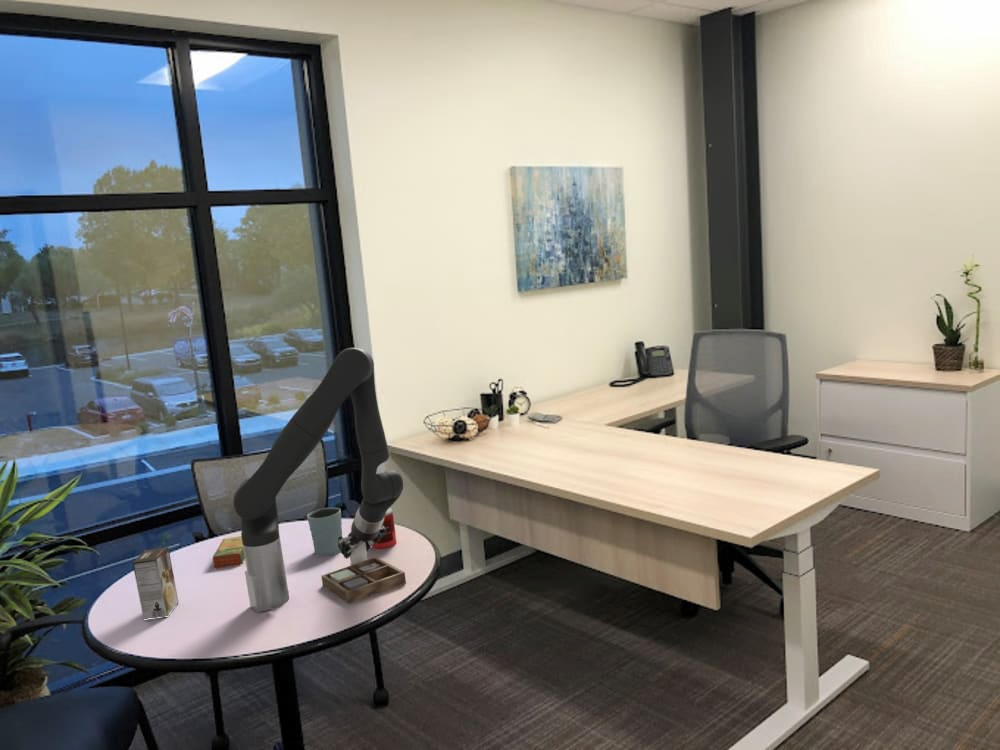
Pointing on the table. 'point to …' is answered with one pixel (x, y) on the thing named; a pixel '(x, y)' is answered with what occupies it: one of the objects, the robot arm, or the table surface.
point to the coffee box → (155, 583)
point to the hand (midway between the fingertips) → (355, 552)
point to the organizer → (376, 579)
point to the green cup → (325, 530)
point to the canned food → (387, 532)
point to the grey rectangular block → (369, 567)
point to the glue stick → (358, 554)
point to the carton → (229, 553)
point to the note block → (342, 575)
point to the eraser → (355, 583)
